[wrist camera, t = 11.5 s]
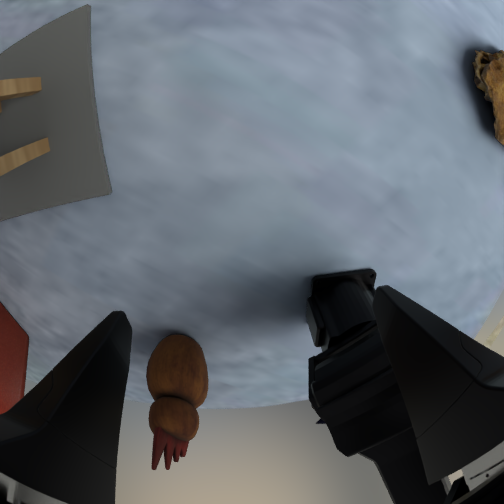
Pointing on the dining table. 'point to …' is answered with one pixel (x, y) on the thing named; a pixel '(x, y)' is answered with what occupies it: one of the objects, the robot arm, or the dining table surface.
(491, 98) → the decorative rock
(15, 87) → the oak stool
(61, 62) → the charcoal mat
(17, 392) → the plant pot
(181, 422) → the wooden figurine
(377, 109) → the dining table surface
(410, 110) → the dining table surface
